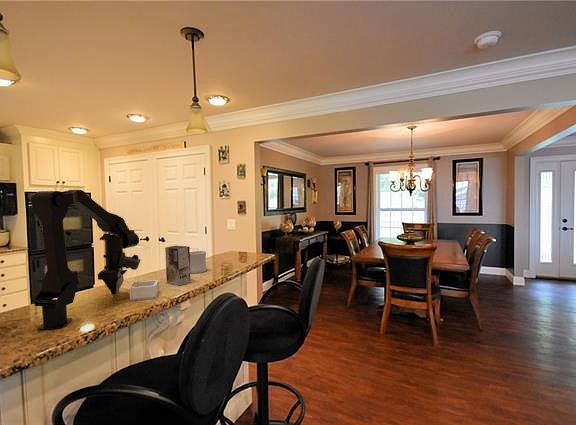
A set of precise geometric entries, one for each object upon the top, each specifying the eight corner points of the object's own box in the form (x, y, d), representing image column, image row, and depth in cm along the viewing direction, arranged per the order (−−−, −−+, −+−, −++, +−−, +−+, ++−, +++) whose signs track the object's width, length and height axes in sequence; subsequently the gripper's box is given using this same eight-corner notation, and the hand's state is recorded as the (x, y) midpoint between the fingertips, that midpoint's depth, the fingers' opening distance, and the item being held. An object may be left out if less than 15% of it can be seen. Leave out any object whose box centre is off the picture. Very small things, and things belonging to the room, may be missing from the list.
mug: (202, 268, 160) (201, 250, 160) (209, 271, 153) (209, 252, 153) (179, 272, 152) (178, 253, 152) (185, 275, 145) (185, 255, 145)
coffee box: (191, 282, 134) (190, 246, 133) (179, 286, 128) (178, 248, 128) (178, 279, 139) (177, 244, 138) (165, 283, 133) (164, 246, 132)
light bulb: (116, 301, 109) (115, 274, 109) (104, 301, 110) (102, 274, 110) (127, 297, 114) (126, 271, 114) (115, 296, 115) (114, 270, 115)
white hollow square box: (156, 298, 112) (155, 285, 112) (130, 301, 110) (129, 288, 109) (159, 291, 120) (158, 279, 120) (135, 293, 118) (134, 281, 118)
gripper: (132, 253, 105) (134, 297, 105) (142, 245, 123) (143, 283, 123) (96, 255, 102) (98, 301, 102) (111, 247, 120) (113, 286, 120)
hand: (115, 292), depth 112 cm, fingers closed on light bulb, 5 cm apart
